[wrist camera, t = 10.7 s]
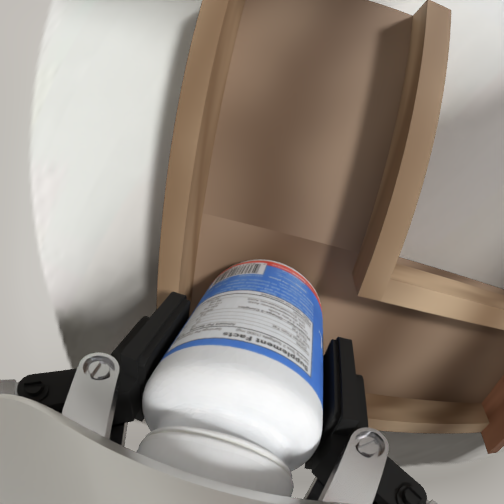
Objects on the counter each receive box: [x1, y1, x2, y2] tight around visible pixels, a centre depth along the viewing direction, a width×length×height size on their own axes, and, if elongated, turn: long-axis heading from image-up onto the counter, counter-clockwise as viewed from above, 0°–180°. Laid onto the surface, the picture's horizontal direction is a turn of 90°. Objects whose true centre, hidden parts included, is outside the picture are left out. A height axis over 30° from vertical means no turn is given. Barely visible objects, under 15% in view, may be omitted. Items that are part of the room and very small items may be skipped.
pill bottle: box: [137, 259, 324, 497], centre depth 10 cm, size 6×5×10 cm
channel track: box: [157, 0, 504, 454], centre depth 10 cm, size 22×20×5 cm
